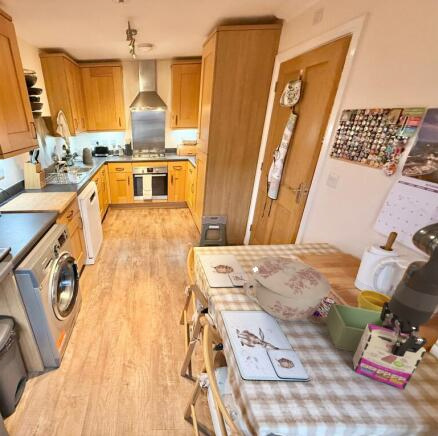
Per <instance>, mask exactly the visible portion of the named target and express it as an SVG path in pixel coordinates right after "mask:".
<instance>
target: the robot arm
mask: <svg viewBox="0 0 438 436" xmlns="http://www.w3.org/2000/svg"><path fill="white" fill-rule="evenodd" d="M411 243H412V244H413V246H414V247H415V248H416V249H418V250H419V251H421V252H423V254H426V255H427V256H428V257H429V258H428V260H427V261H425V260H414V261H412V262H410V263H409V264H408V265H407V266H406V269H405V271H404V273H403V274H402V275H403V276H402V277H401V278H400V279H401V280H400V281H399V283H398V284H397V285H396V287H395V289H394V291H393V293H392V296H391V297H390V298H391V300H390V302H384V305H383V308H382V312H381V315H380V319H381V320H383V323H382V324H383V328H386V329H390V330H393V331H394V329H393V328H396V329H395V336H397V340H396V343H395V345H394V347H393V349H392V351H391V353H392V354H393V355H395V356H400V357H403V356H404V354H405V353H406V351H408V352H413V353H416V352H417V351H418V350H419V349H421V348H422V347H423V346H424V347H425V345H426V344H427V343H428V340H427V338H426V337H422V336H421V335H420V333H419V332H420V327H421V326H422V325H424V324H427V323H429V322H430V320H431V319H432V316H433V314H434V313H435V311H436V310H437V308H438V222H434V223H431V224H428V225H425V226H423V227H421V228H420V229H418V230H416V231H415V232H414V234H413V235H412V238H411ZM386 314H389V316H388V317H385V316H386ZM401 333H403V334H407V335H402V334H401ZM402 339H406V341H405V342H404V343H403V342H402Z"/></svg>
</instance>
